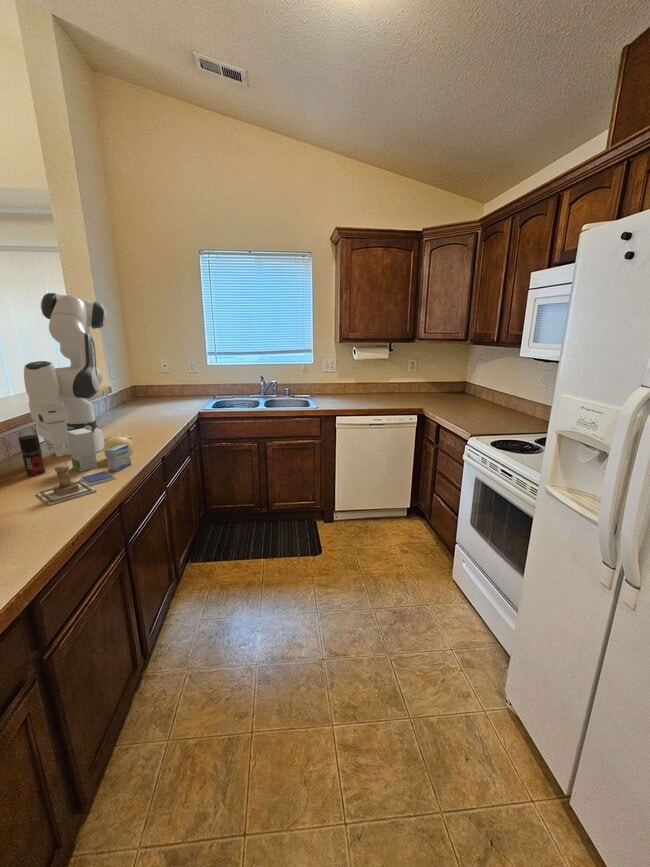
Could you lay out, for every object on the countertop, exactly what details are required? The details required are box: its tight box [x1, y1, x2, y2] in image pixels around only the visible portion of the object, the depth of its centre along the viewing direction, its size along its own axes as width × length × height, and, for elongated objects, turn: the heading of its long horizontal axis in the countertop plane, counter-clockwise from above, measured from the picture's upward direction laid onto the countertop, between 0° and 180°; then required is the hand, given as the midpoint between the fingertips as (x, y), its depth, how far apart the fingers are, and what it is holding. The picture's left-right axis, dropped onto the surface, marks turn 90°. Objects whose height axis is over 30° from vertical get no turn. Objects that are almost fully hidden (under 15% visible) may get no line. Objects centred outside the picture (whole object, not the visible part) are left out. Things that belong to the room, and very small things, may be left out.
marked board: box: [35, 480, 97, 507], centre depth 132 cm, size 14×14×1 cm
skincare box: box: [68, 428, 98, 472], centre depth 155 cm, size 8×7×16 cm
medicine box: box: [105, 445, 132, 472], centre depth 156 cm, size 8×4×9 cm, turn 168°
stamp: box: [52, 465, 79, 496], centre depth 131 cm, size 6×6×9 cm
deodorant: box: [18, 434, 46, 477], centre depth 149 cm, size 6×6×15 cm
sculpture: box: [103, 433, 134, 458], centre depth 167 cm, size 12×12×11 cm
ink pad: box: [79, 470, 117, 487], centre depth 144 cm, size 9×9×1 cm
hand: (55, 452), depth 128 cm, fingers open, 8 cm apart
